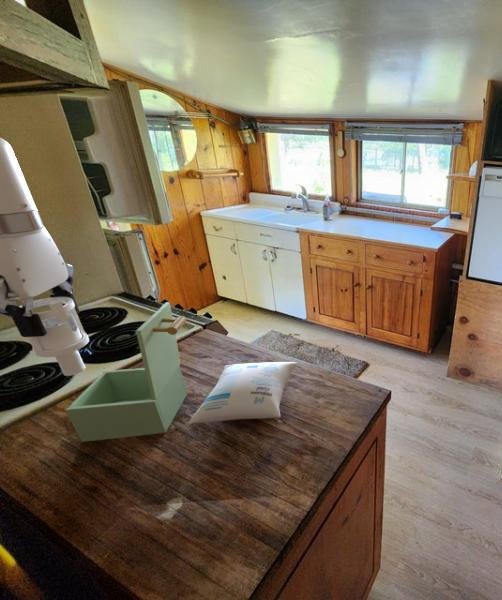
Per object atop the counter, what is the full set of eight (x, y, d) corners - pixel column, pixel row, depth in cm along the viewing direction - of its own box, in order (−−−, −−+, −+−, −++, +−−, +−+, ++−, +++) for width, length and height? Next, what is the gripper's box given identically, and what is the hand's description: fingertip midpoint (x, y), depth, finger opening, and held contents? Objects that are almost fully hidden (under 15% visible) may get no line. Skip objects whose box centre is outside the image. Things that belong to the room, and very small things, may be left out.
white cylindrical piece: (66, 386, 57) (30, 311, 51) (38, 378, 59) (-1, 304, 53) (108, 363, 64) (80, 294, 57) (81, 357, 65) (51, 288, 59)
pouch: (222, 352, 85) (183, 404, 67) (297, 353, 87) (279, 403, 69) (226, 377, 88) (190, 434, 70) (298, 377, 90) (281, 431, 72)
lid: (135, 330, 60) (167, 331, 61) (165, 301, 71) (191, 302, 72) (151, 400, 66) (179, 399, 68) (176, 363, 78) (200, 363, 79)
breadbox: (81, 442, 67) (65, 410, 64) (116, 400, 79) (104, 370, 75) (165, 432, 70) (154, 401, 67) (187, 393, 82) (179, 365, 78)
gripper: (25, 212, 57) (64, 304, 64) (-90, 237, 41) (-21, 353, 49) (75, 213, 58) (108, 302, 66) (-18, 237, 43) (38, 350, 50)
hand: (52, 323), depth 57 cm, fingers closed on white cylindrical piece, 7 cm apart
